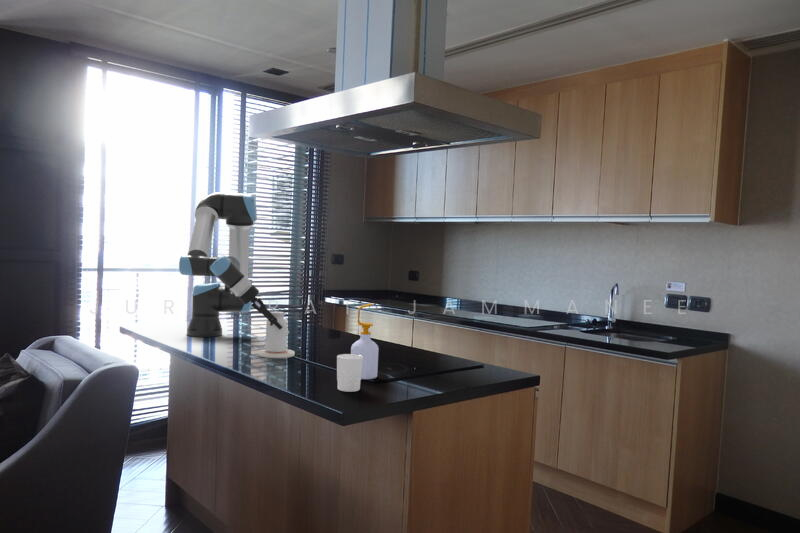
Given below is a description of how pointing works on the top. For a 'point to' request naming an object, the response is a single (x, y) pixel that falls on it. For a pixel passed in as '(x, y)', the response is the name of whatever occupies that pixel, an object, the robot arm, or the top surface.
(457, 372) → the top surface
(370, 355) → the soap bottle
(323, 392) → the top surface
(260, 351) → the coaster
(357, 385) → the white cup
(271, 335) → the pill bottle
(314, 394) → the top surface
